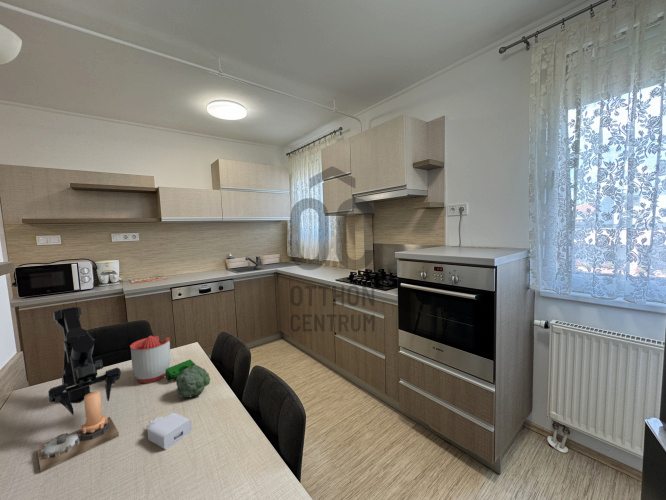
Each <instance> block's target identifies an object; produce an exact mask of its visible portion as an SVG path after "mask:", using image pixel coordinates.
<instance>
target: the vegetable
mask: <svg viewBox="0 0 666 500" xmlns="http://www.w3.org/2000/svg"><path fill="white" fill-rule="evenodd" d="M175 382H176V387H177V388H176V393H177V395H178V396H180V397H181V398H183V399H184V398H191V397H196V396H197V395H201V394H202V392H204V390H205V388H206V387H207V386H209V385H210V382H211V377H210V373H208V372H207V369H205V368H202V367H201V366H200V365H197V364H196V365H193V366H190V367H188V368H186V369H184V370H183V371H182V373H181V374H180V375H179V376H178V377H177V378H176V379H175Z"/></svg>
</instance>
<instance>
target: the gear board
mask: <svg viewBox="0 0 666 500" xmlns="http://www.w3.org/2000/svg"><path fill="white" fill-rule="evenodd" d="M106 418H107V420H108V422H107V424H105V425H104V427H103V428H102V429H101V430H99V431H97V432H95V433H92V434H87V432H86V433H85V434H84V433H83V431H81V428H80V429H77V430H75V431H72V432H70V433H68V432H67V433H66V432H65V433H61V434H58V435H57V436H55V437H54V438H52V439H51V441H48V442H46V443H44V444H42V445H39V446H37V447H36V448H37V457H38V463H39V470H40V473H43V472H45V471H47V470H49V469H52V468H54V467H56V466H58V465H60V464H62V463H64V462H67V461H68V460H70V459H73V458H75V457H77V456H79V455H81V454H84V453H86V452H89V451H90V450H92V449H94V448H97V447H98V446H102V445H103V444H105V443H107V442H110V441H111V440H113V439H116V438H118V437H120V434H119V433H120V432H119V430H118V428H117V426H116V425H115V423H114V422H113V420H112V418H111V417H110V416H109V417H106Z"/></svg>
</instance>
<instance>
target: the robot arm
mask: <svg viewBox="0 0 666 500" xmlns="http://www.w3.org/2000/svg"><path fill="white" fill-rule="evenodd" d="M52 314H53V316H52V317H53V321H54V322H55V323H56V326H57V327H58V328H59V329H61V330H62V333H63V350H64V351H65V353H66V359H67V364H66V366H65V368H64V371H63V374H62V376H61V383H62V384H59V385H57V386H54V387H50V388H49V390H48V395H47V397H48V403H49V404H51V403H55V404H58V403H59V404H61V405H62V406H63V407H64V408H66V410H67V411H68V412H69V413H70V414H71V415H74V414H75V412H74V408H73V405H72V403H73V404H74V403H82V401H84V396H85V395H87V394H88V393H91V392H92V391H91V388H90V386H92V385H95V384H98V383H102V382H105V385H104V387H105V396H106V400H107V401H106V402H109V401H110V398H111V397H110V396H111V391H112V390H111V389H112V385H114V384H115V383H116V382H117V381H118V380H120V377H121V374H122V372H121V371H122V370H121V369H120V368H119V367H115V368H110V369H108V370H106V371H105V372H104V374H103V375H100V376H98V371H99V370H102V369H103V368H104V365H103V364H104V362H103V359H98V360H95V361H94V360H93V357H92V356H93V352H94V346H95V343H96V339H95V338H94V337H92V335H91V334H89V331H88V330H87V329H84V328H83V327H82V323H81V320H80V317H82V316H83V313H82V308H81V306H80V307H78V306H71V307H66V308H65V307H64V308H60V309H57V310H56V311H54V312H52Z"/></svg>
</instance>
